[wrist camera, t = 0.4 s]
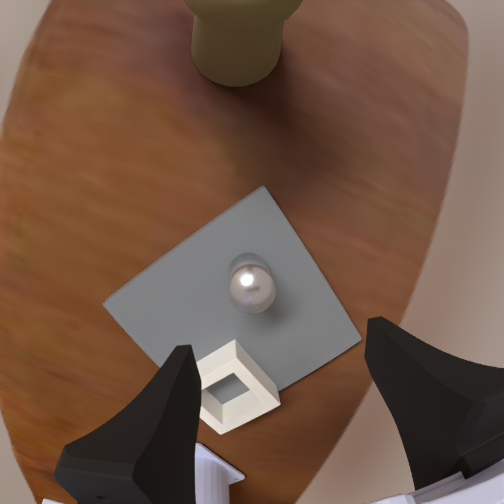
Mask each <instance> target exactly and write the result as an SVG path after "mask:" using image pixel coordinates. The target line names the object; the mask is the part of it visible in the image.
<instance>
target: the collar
mask: <svg viewBox="0 0 504 504" xmlns="http://www.w3.org/2000/svg"><path fill="white" fill-rule="evenodd" d="M196 363H197V367H198V370H199V374H200V377H201V381H202V402H201V410H200V418H201V419H202V420H203V421H205V422H206V423H207V424H208V425H209V426H211V427H212V428H213V429H214V430H215V431H217V432H218V433H219V434H220V435H221V434H223V433H225V432H228V431H230V430H232V429H234V428H236V427H238V426H240V425H242V424H244V423H246V422H248V421H250V420H252V419H254V418H256V417H258V416H260V415H262V414H264V413H266V412H268V411H270V410H272V409H274V408H275V407H277V406H279V405H281V404H280V399H279V395H278V391H277V386H276V384H275V383H274V382H273V381H272V380H271V379H270V378H269V377H268V376H267V375H266V373H265V372H264V371H263V370H262V369H261V368H260V367H259V366H258V365H257V363H256V362H255V361H254V360H253V359H252V358H251V357H250V355H249V354H248V353H247V352H246V351H245V350H244V349H243V347H242V346H241V345H240V344H239V343H238V342H237V341H236V339H234V340H233V341H231V342H229V343H228V344H226V345H224V346H223V347H221V348H219V349H218V350H216V351H214V352H213V353H211V354H209V355H208V356H206V357H204V358H203V359H201V360H199V361H198V362H196ZM231 373H234V374H235V375H236V376H237V377H238V378H239V379H240V380H241V381H242V382H243V383H244V384H245V385H246V386H247V387H248V388H249V389H250V390H249V391H247V392H245V393H243V394H242V395H240V396H238V397H236V398H234V399H232V400H230V401H228V402H227V403H225V404H223V405H222V404H221V403H220V402H219V401H218V400H217V399H216V398H215V397H214V396H213V395H212V394H210V393H209V392H208V391H207V390H206V389H205V388H206V387H208V386H210V385H212V384H214V383H215V382H217V381H219V380H221V379H223V378H224V377H226V376H228V375H230V374H231Z"/></svg>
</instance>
